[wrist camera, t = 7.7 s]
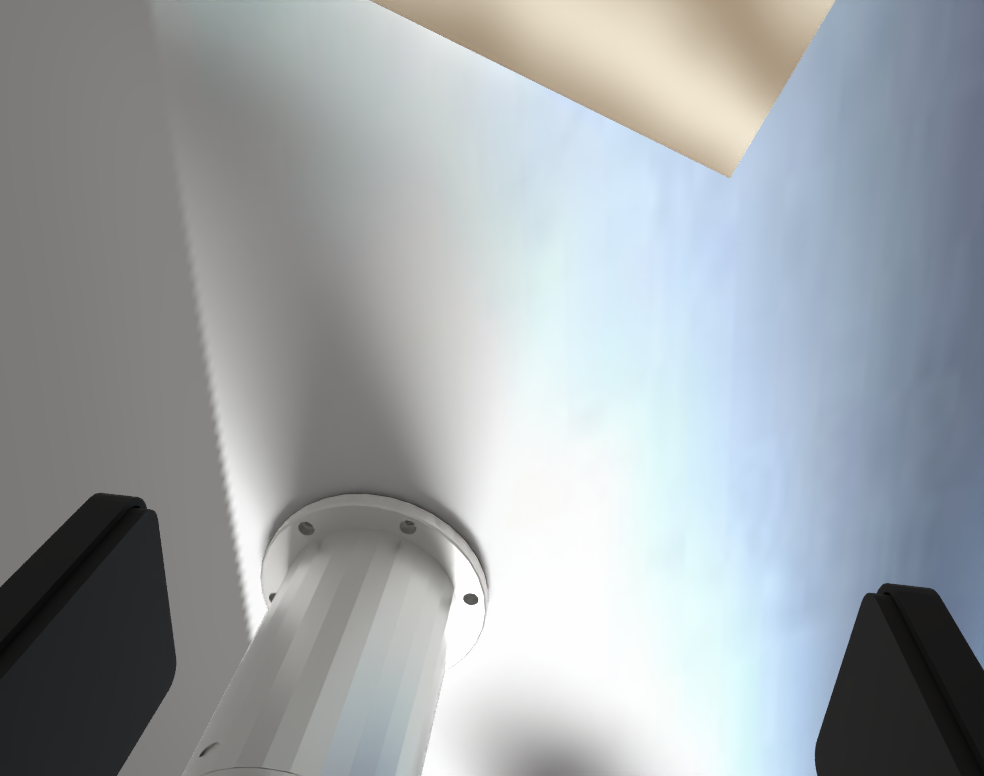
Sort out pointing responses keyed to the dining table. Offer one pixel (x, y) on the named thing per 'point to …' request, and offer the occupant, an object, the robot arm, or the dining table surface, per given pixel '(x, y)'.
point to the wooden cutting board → (644, 59)
